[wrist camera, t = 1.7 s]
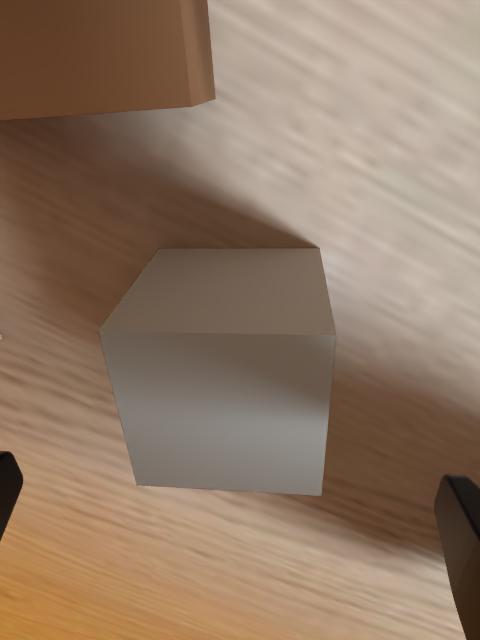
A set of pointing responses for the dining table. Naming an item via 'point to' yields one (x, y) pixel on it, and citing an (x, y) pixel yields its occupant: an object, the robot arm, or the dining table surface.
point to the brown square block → (103, 56)
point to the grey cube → (225, 369)
